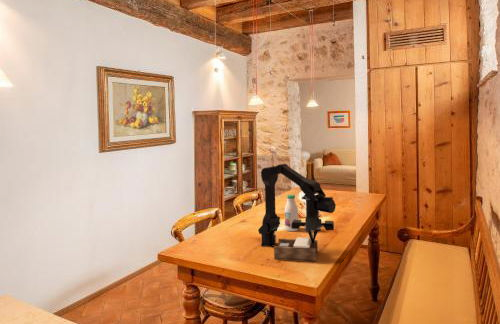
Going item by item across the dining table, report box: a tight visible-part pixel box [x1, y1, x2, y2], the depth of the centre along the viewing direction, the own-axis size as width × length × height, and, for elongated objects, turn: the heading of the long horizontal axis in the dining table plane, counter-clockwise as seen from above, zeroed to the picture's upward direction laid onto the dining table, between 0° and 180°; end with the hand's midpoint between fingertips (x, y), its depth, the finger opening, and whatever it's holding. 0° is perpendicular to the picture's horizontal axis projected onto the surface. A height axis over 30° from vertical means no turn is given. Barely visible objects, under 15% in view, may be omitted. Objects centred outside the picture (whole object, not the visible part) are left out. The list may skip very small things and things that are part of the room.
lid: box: [293, 236, 311, 248], centre depth 170 cm, size 7×12×2 cm, turn 165°
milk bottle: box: [284, 194, 299, 232], centre depth 210 cm, size 8×8×20 cm
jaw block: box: [278, 243, 289, 247], centre depth 173 cm, size 4×4×4 cm
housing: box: [273, 238, 319, 263], centre depth 172 cm, size 18×12×6 cm, turn 75°
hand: (313, 243), depth 169 cm, fingers closed
